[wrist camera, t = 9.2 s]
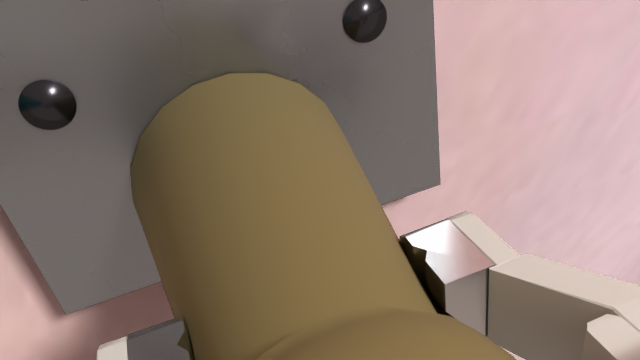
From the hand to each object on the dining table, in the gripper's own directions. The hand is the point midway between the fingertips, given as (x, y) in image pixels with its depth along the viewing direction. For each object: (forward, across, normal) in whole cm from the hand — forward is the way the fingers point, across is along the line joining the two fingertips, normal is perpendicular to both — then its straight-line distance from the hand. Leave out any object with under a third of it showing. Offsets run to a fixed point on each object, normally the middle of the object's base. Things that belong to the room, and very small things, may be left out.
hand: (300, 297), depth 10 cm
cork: (+6, 0, 0) cm, 6 cm away
